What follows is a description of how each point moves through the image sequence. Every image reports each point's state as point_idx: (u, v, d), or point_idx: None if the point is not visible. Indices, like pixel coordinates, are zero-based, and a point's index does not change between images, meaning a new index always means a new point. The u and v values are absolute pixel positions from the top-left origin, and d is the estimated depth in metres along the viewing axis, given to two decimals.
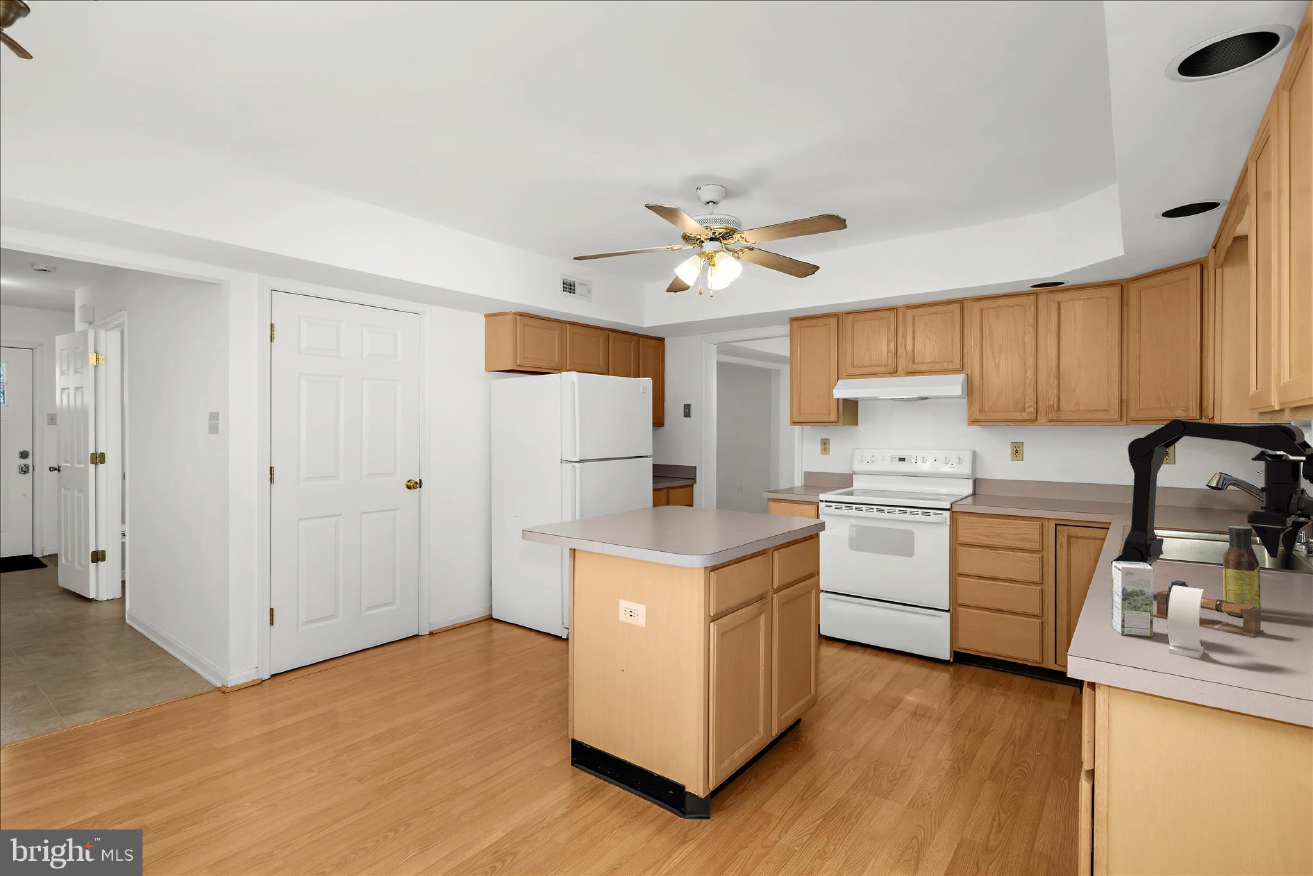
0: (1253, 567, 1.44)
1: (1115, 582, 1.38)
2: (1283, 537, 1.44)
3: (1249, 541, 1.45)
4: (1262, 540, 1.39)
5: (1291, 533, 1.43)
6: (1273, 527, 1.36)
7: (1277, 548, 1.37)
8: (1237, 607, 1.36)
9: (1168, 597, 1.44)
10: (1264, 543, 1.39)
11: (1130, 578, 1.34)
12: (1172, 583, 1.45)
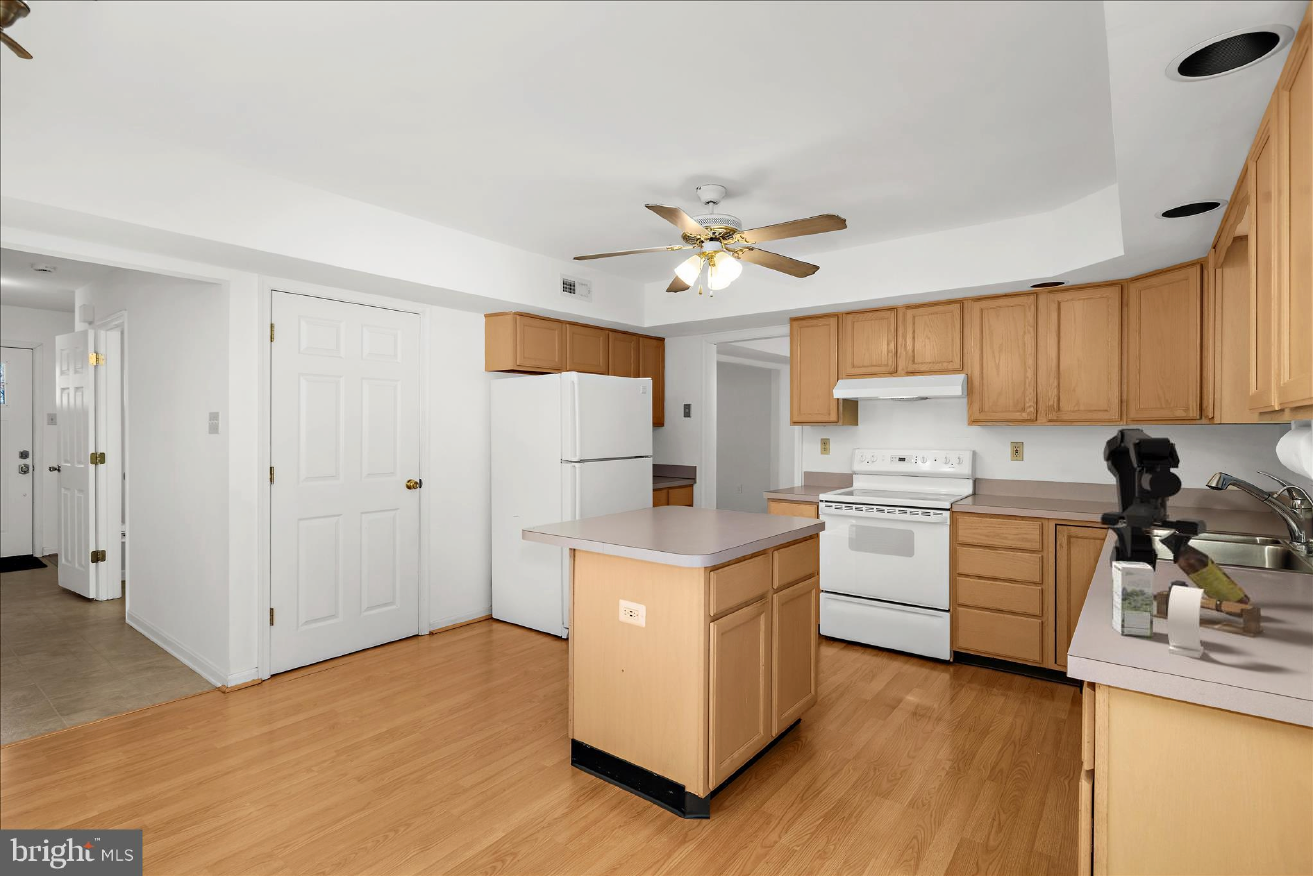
0: (1205, 562, 1.48)
1: (1115, 582, 1.38)
2: None
3: None
4: None
5: None
6: None
7: None
8: (1237, 607, 1.36)
9: (1168, 597, 1.44)
10: None
11: (1130, 578, 1.34)
12: (1172, 583, 1.45)
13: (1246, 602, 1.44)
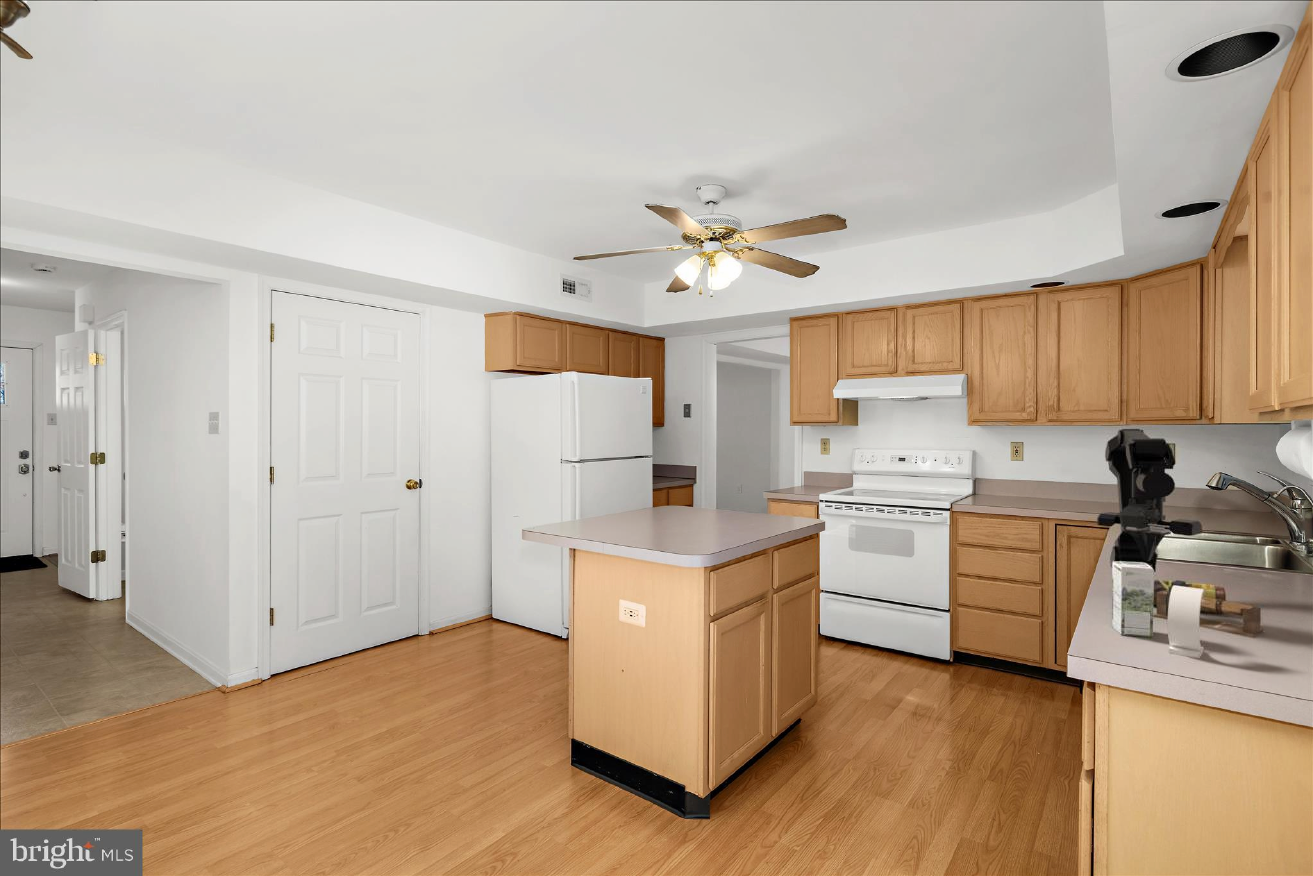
0: (1162, 588, 1.52)
1: (1115, 582, 1.38)
2: None
3: None
4: None
5: None
6: None
7: None
8: (1237, 607, 1.36)
9: (1168, 597, 1.44)
10: None
11: (1130, 578, 1.34)
12: (1172, 583, 1.45)
13: (1223, 594, 1.46)
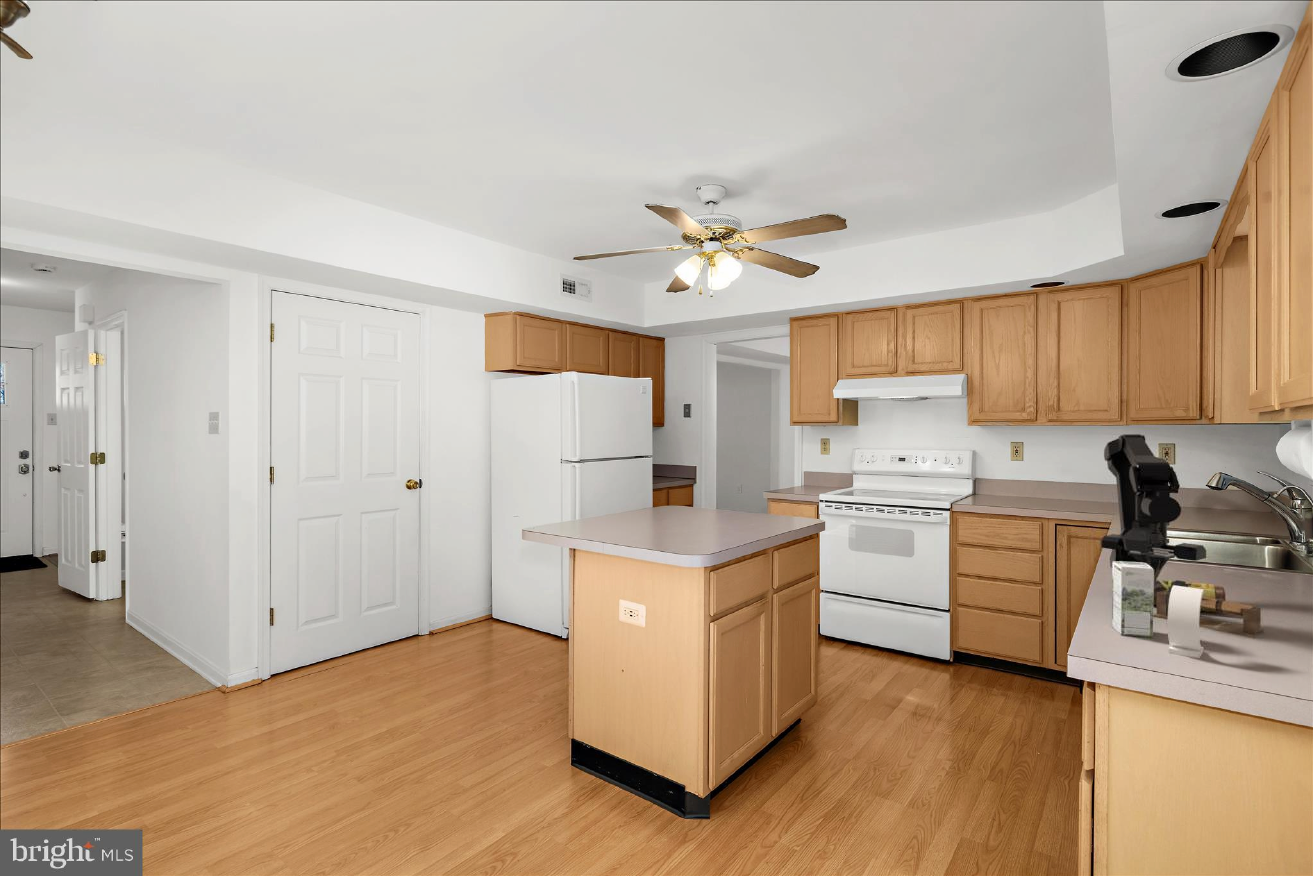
0: (1162, 588, 1.53)
1: (1115, 582, 1.38)
2: None
3: None
4: None
5: None
6: None
7: None
8: (1237, 607, 1.36)
9: (1168, 597, 1.44)
10: None
11: (1130, 578, 1.34)
12: (1172, 583, 1.45)
13: (1222, 593, 1.47)
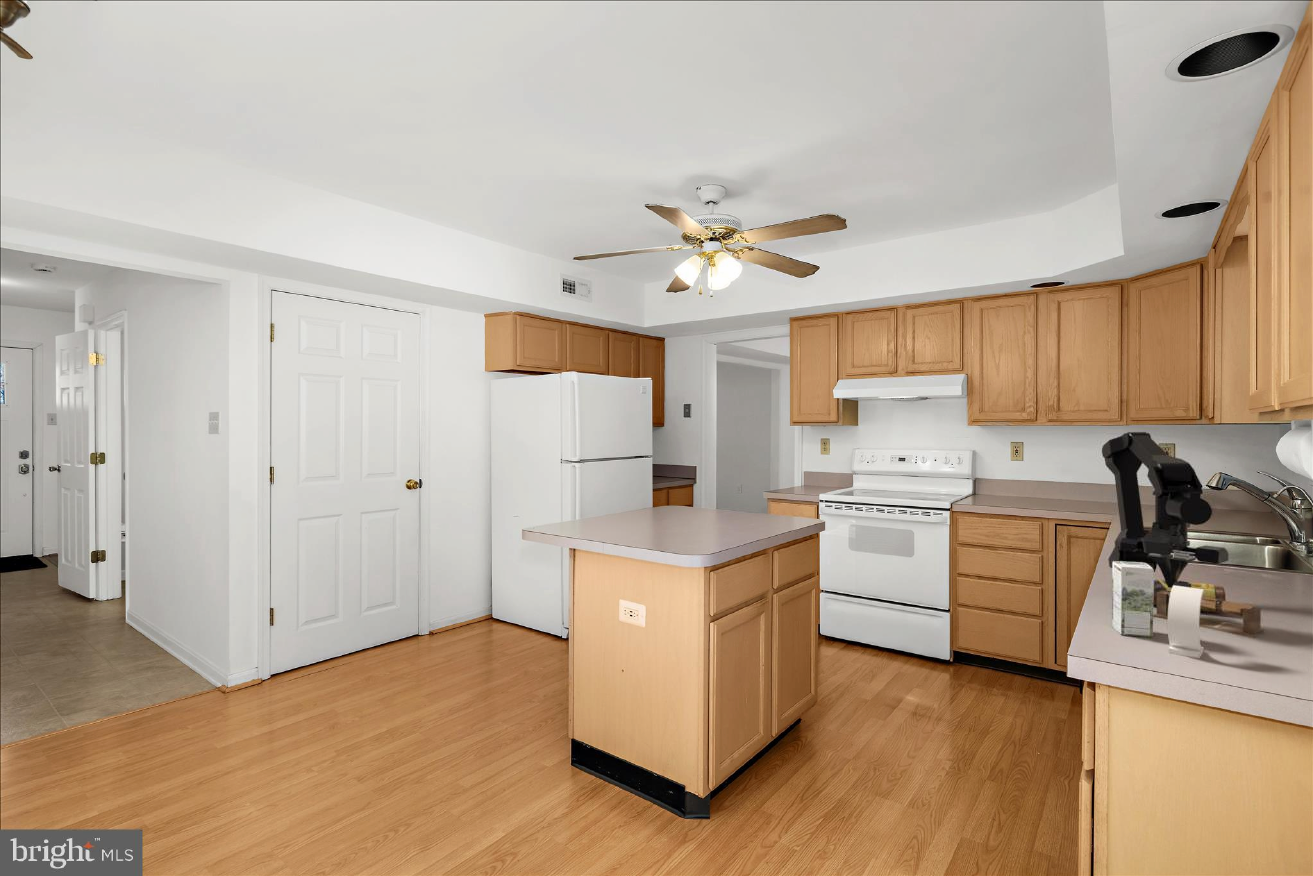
0: (1162, 588, 1.53)
1: (1115, 582, 1.38)
2: None
3: None
4: None
5: None
6: None
7: None
8: (1237, 607, 1.36)
9: None
10: None
11: (1130, 578, 1.34)
12: (1175, 583, 1.44)
13: (1222, 593, 1.47)
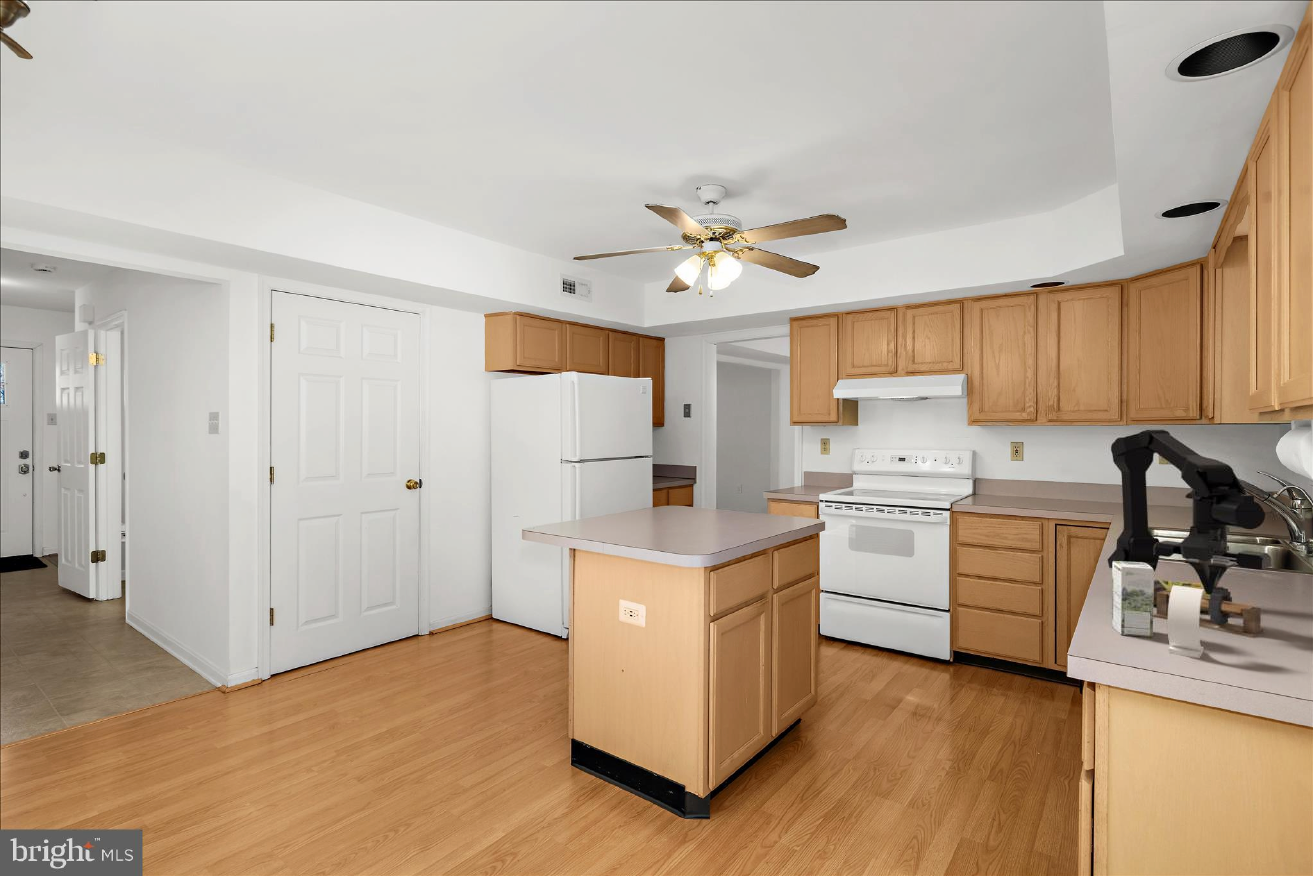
0: (1162, 588, 1.53)
1: (1115, 582, 1.38)
2: None
3: None
4: None
5: None
6: None
7: None
8: (1237, 607, 1.36)
9: (1210, 605, 1.37)
10: None
11: (1130, 578, 1.34)
12: (1214, 590, 1.38)
13: None
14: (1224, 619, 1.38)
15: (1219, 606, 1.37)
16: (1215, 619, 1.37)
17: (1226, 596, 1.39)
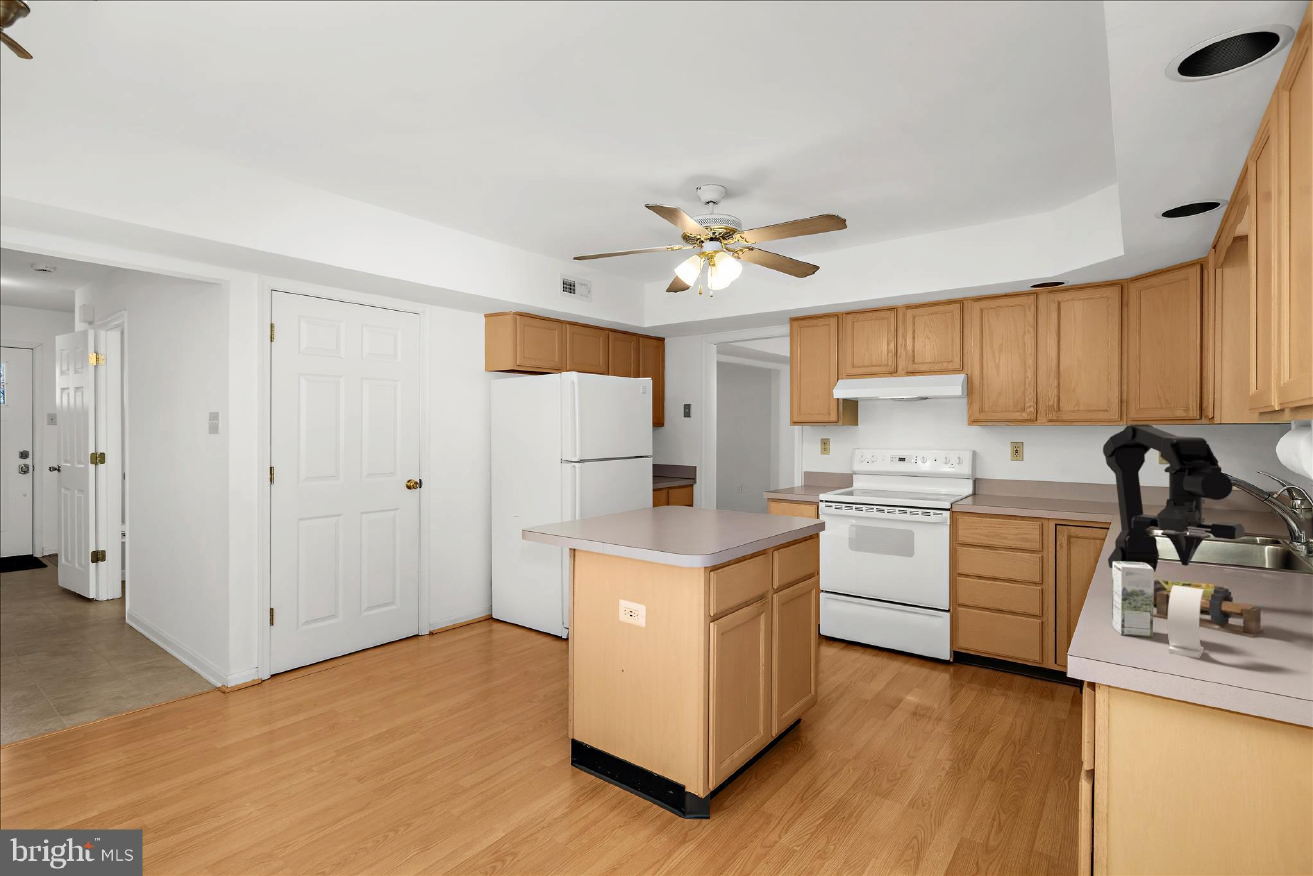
0: (1162, 588, 1.53)
1: (1115, 582, 1.38)
2: None
3: None
4: None
5: None
6: None
7: None
8: (1237, 607, 1.36)
9: (1211, 605, 1.37)
10: None
11: (1130, 578, 1.34)
12: (1215, 590, 1.38)
13: None
14: (1225, 619, 1.38)
15: (1220, 606, 1.37)
16: (1216, 619, 1.37)
17: (1227, 596, 1.39)
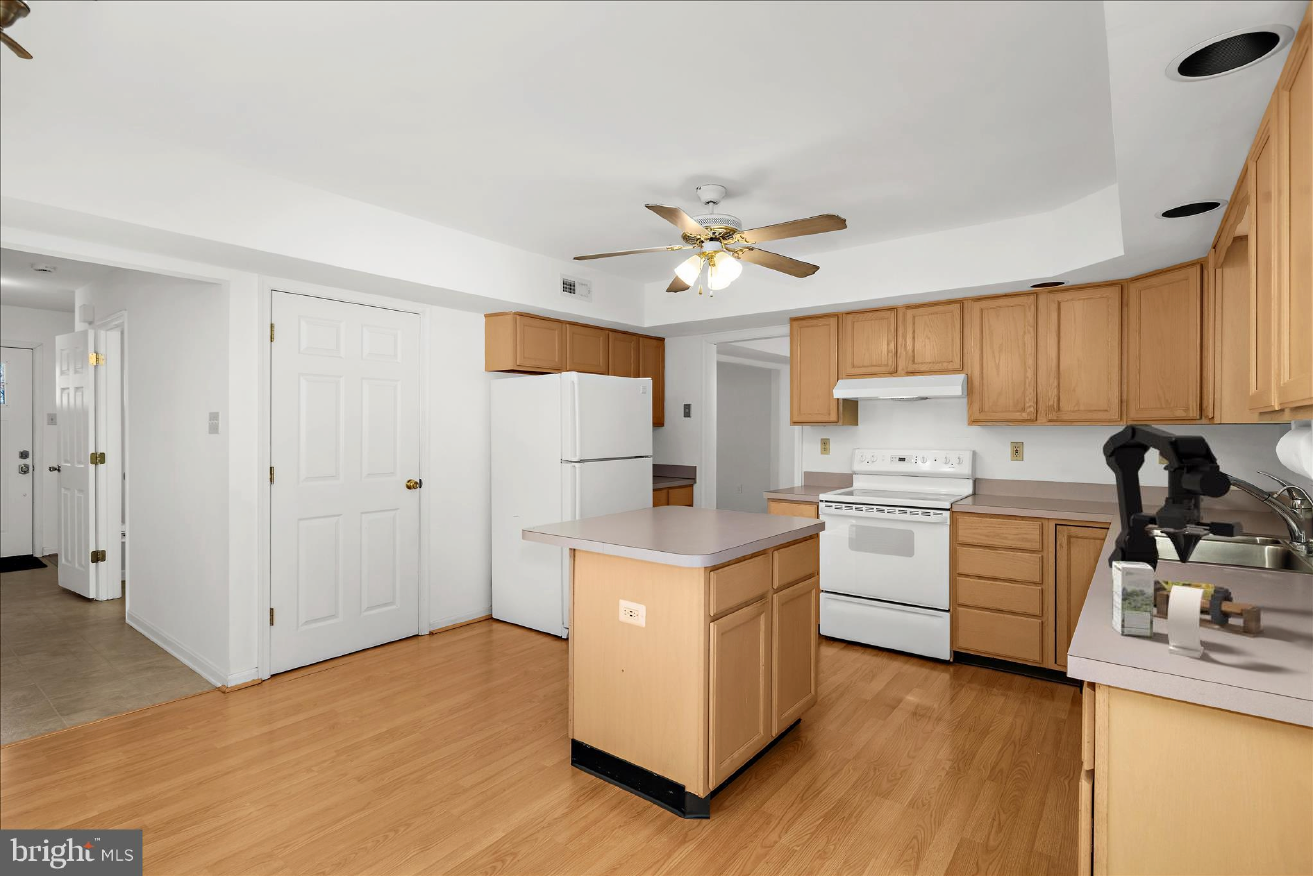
0: (1162, 588, 1.53)
1: (1115, 582, 1.38)
2: None
3: None
4: None
5: None
6: None
7: None
8: (1237, 607, 1.36)
9: (1211, 605, 1.37)
10: None
11: (1130, 578, 1.34)
12: (1215, 590, 1.38)
13: None
14: (1225, 619, 1.38)
15: (1220, 606, 1.37)
16: (1216, 619, 1.37)
17: (1227, 596, 1.39)
